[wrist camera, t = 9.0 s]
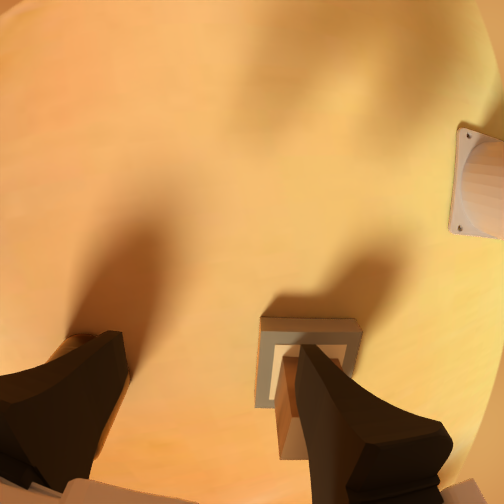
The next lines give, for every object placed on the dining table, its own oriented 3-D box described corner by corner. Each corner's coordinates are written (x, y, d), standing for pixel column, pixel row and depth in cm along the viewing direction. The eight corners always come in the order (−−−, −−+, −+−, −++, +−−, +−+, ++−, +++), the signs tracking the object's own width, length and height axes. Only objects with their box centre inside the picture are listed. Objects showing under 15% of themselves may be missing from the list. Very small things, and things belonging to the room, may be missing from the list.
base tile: (354, 318, 23) (363, 332, 21) (337, 391, 25) (343, 406, 23) (260, 316, 23) (260, 331, 21) (254, 391, 24) (254, 408, 22)
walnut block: (338, 358, 21) (361, 415, 16) (325, 399, 22) (342, 458, 17) (282, 356, 21) (291, 417, 15) (274, 398, 22) (279, 459, 16)
